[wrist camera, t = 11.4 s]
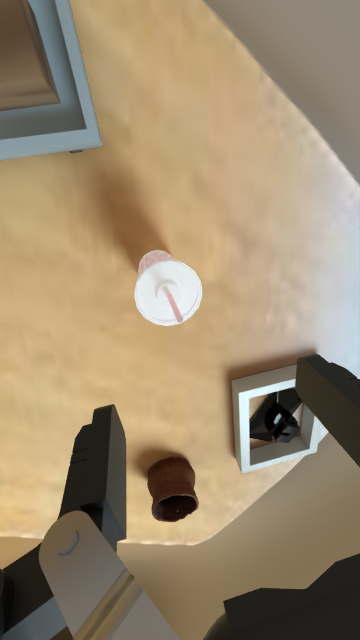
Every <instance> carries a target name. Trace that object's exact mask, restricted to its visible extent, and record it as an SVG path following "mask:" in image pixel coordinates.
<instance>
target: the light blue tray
mask: <svg viewBox="0 0 360 640" xmlns="http://www.w3.org/2000/svg"><path fill="white" fill-rule="evenodd" d="M28 2H29V4H30V6H31V8H32V10H33V12H34V14H35V17H36V20H37V24H38V27H39V31H40V34H41V38H42V41H43V44H44V48H45V51H46V55H47V58H48V62H49V65H50V68H51V72H52V75H53V79H54V82H55V86H56V89H57V92H58V96H59V99H60V103H59V104H52V105H44V106H37V107H29V108H22V109H14V110H7V111H0V160H5V159H12V158H20V157H27V156H35V155H42V154H50V153H57V152H65V151H70V153H75V152H82V149H88V148H95V147H103V144H102V140H101V135H100V131H99V127H98V122H97V118H96V114H95V109H94V105H93V101H92V96H91V92H90V88H89V84H88V79H87V75H86V71H85V66H84V62H83V58H82V53H81V49H80V45H79V40H78V36H77V32H76V27H75V23H74V19H73V14H72V10H71V6H70V1H69V0H28Z"/></svg>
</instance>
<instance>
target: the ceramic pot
mask: <svg viewBox="0 0 360 640" xmlns="http://www.w3.org/2000/svg"><path fill="white" fill-rule="evenodd" d="M147 485H148V489H149V492H150V494H151V496H152V497H153V499H151V500H153V504H152V515H153V517H154V518H155V519H157V520H159V521H163V522H165V521H166V522H176V521H178V520H180V519H184V518H185V517H186V516H187V515H188V514H191V513H192V512H194V511H195V510H197V508H198V504H199V503H198V499H197V497H196V493H195V491H194V485H195V473H194V470H193V468H192V467H191V465H190V464H189V462H188V461H187V460H185V459H182V458H168V459H165V460H161V461H159V462H157V463H156V464H154V465H153V466H152V467H151V468H150V469H149V471H148V483H147ZM177 511H178V512H177Z"/></svg>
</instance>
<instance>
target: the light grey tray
mask: <svg viewBox="0 0 360 640" xmlns="http://www.w3.org/2000/svg"><path fill="white" fill-rule="evenodd" d="M296 368H297V364H295V365H291V366H287V367H283V368H279V369H275V370H271V371H267V372H263V373H259V374H255V375H251V376H246V377H242V378H238V379H234V380H231V384H232V402H233V421H234V439H235V457H236V461H237V463H238V466H239V468H240V471H241V473H246V472H249V471H253V470H256V469H259V468H263V467H266V466H270V465H273V464H277V463H280V462H284V461H287V460H291V459H294V458H298V457H301V456H305V455H308V454H311V453H314V452H316V451H317V445H318V440H319V434H320V428H321V422H320V421H319V420H318V418H317V417H316V416H315V415H314V414H313V413H312V412H311V410H310V409H309V408H308V407H307V406H306V405H305V403H304V407H303V415H302V423H301V431H300V436H297V437H294V438H292V440H291V441H290V442H289V443H283V442H276V443H272V444H268V445H265V446H261V447H258V448H254V449H250V445H249V398H252V397H256V396H260V395H264V394H268V393H272V392H276V391H280V390H284V389H288V388H292V387H295V380H296Z"/></svg>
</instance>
